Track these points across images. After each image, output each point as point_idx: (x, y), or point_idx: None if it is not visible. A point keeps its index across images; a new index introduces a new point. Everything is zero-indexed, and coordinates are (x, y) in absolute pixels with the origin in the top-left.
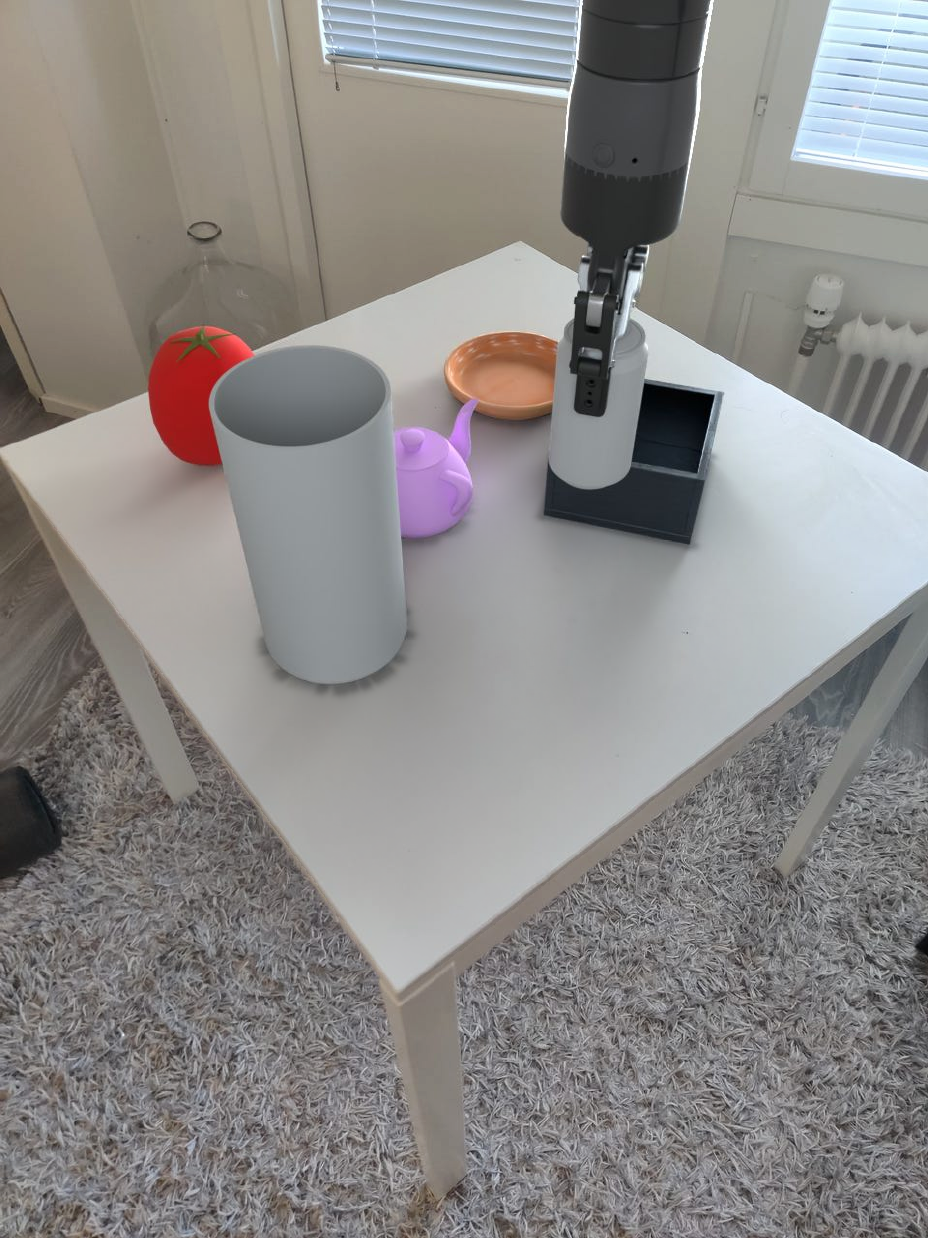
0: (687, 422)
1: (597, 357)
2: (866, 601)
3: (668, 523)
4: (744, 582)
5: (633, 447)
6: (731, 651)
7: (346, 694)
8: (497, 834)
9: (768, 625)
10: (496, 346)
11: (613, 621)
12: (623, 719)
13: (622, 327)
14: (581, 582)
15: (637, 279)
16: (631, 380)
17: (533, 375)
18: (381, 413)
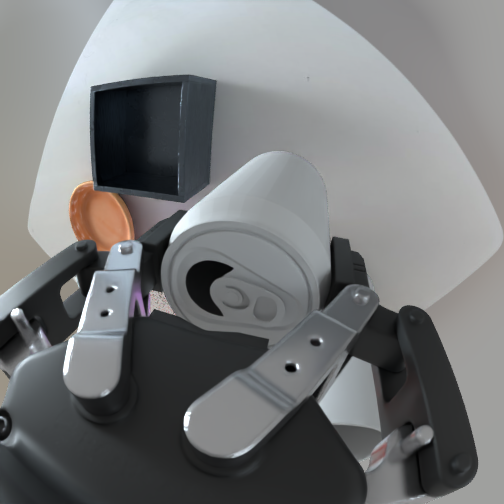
0: (112, 104)
1: (393, 347)
2: None
3: (208, 97)
4: (247, 42)
5: (280, 155)
6: (319, 50)
7: (377, 283)
8: (461, 202)
9: (288, 26)
10: (84, 234)
11: (306, 127)
12: (391, 124)
13: (348, 345)
14: (271, 151)
15: (266, 433)
16: (311, 217)
17: (94, 210)
18: (357, 424)
